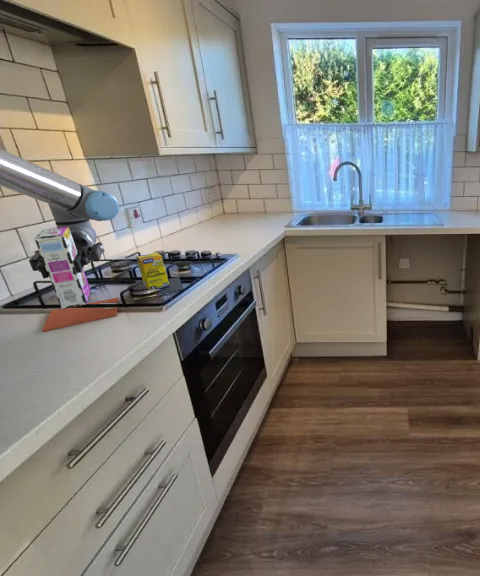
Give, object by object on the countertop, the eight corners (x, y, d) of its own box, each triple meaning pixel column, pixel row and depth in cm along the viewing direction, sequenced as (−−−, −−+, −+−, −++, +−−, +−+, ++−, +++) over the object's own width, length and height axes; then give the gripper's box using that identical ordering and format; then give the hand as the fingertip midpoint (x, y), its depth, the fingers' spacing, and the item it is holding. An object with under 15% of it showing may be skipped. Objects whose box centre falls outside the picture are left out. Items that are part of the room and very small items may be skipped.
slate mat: (133, 301, 111) (132, 299, 111) (133, 287, 122) (132, 285, 122) (183, 290, 118) (183, 289, 118) (179, 278, 129) (178, 276, 129)
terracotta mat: (42, 332, 94) (41, 330, 94) (51, 312, 105) (51, 310, 105) (116, 315, 102) (116, 313, 102) (118, 299, 113) (117, 297, 113)
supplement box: (150, 292, 116) (140, 259, 112) (144, 287, 120) (135, 256, 115) (170, 286, 120) (161, 255, 116) (164, 282, 124) (155, 252, 119)
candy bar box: (89, 304, 83) (63, 234, 76) (61, 310, 80) (31, 238, 74) (92, 289, 91) (69, 225, 85) (67, 294, 89) (41, 228, 82)
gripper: (119, 253, 102) (116, 276, 84) (35, 265, 93) (11, 295, 75) (110, 226, 99) (105, 245, 81) (23, 237, 90) (-5, 261, 72)
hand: (60, 269), depth 78 cm, fingers closed on candy bar box, 5 cm apart
